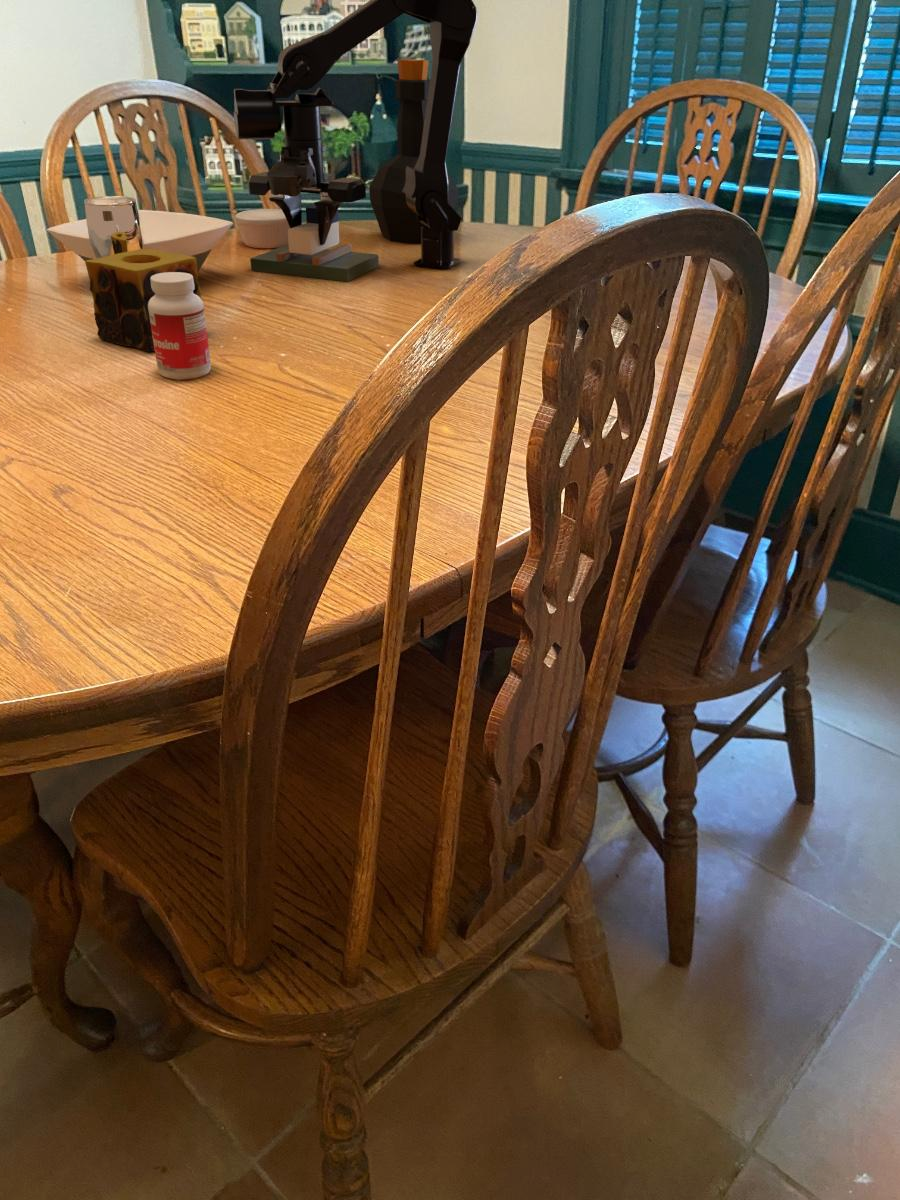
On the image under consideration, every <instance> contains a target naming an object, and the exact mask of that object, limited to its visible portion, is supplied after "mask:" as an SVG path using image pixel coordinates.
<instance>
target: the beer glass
mask: <svg viewBox="0 0 900 1200" xmlns="http://www.w3.org/2000/svg"><path fill="white" fill-rule="evenodd" d="M83 204H84V209H85V219H86V221H87V228H88V234H89V239H90V244H91V247H92V250H93V254H94V257H95V259H97V258H102V257H106V256H110V255H114V254H118V253H123V252H129V251H134V250H139V249H144V241H143V233H142V228H141V222H140V218H139V213H138V210H139V209H138V205H137V200H136V198H134V197H132V196H125V195H105V196H94V197H90V198H89V197H88V198H86V199H84V200H83Z"/></svg>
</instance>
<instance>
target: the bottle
mask: <svg viewBox="0 0 900 1200" xmlns="http://www.w3.org/2000/svg"><path fill="white" fill-rule="evenodd" d="M429 61H430V60H428V59H413V58H410V59H409V58H401V59H397V70H398V78H399V79H396V80H395V99H397V100H399V108H398V114H397V124H396V139H397V141H396V142H397V144H396V145H397V147H396V148H397V154H396V155H395V156H393V157H391V158H390V159H389V160H387V161H386V162H385V163H383V164H382V165H381V166H380V167H379V168H378V170H377V171H376V174H375V176H374V178H373V179H372V181H371V182H370V185H369V186H368V191H369V202H370V204H371V208H372V210H373V213H374V216H375V219H376V221H377V224H378V227H379V230H380V233H381V235H382V236H383V237H385V238H386V239H387V240H389V241H390V242H403V243H421V226H422V225H423V224H422V223H420V222H419V221H418V219H417V216H416V213H414V212H413V211H412V210H411V209H410V208H409V206H408V205H407V203H406V194H405V193H403V192H402V190H403V188H404V186H405V182H406V167H407V166H408V167H411V168H414V167H415V165H416V163H417V161H418V159H419V156H420V150H421V142H422V135H423V128H424V121H425V113H426V106H427V99H428V91H429V84H430V80H428V72H429V71H428V69H429ZM446 170H447V177H448V204H449V205H450V206H451V207H452V208H453V209H454V210H455V211H456V209H457V205H458V203H459V202H458V200H459V187H458V186H457V184H456V183H455V180H454V179H453V177H452V175H451V173H450V172H449V170H448V168H447V167H446Z"/></svg>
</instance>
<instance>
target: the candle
mask: <svg viewBox="0 0 900 1200" xmlns="http://www.w3.org/2000/svg"><path fill="white" fill-rule="evenodd" d="M84 263H85V267H86V270H87V274H88V279H89V290H90V292H91V295H92V301H93V312H94V314H93V316H94V321H95V325H96V327H97V332H96V333H97V336H98V339H100V340H102V341H105V342H107V343H108V342H109V343H113V344H117V345H120V346H125V347H131V348H132V347H133V348H136V349H140V350H142V351H145V352H147V353H148V352H149V353H151V352H155V349H154V343H153V337H152V330H151V323H150V317H149V310H148V303H149V300H150V299H151V298H152V297H153V296H154V295H155V292H153V290H152V288H151V280H150V278H151V276H153V275H155V274H159V273H166V272H181V273H188V274H191V275H192V276H193V280H194V285H195V287H194V288H195V289H194V290H193V293H194V294H196V295H197V296H199V297H200V298H201V299H202V296H201V288H200V283H199V280H198V279H199V272H198V273H197V262H196V258H195V257H191V256H186V255H182V254H176V253H169V252H163V251H157V250H151V249H139V250H134V251H129V252H123V253H118V254H114V255H110V256H106V257H102V258H97V259H92V260H86V261H84Z"/></svg>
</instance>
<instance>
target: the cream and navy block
mask: <svg viewBox="0 0 900 1200" xmlns="http://www.w3.org/2000/svg"><path fill="white" fill-rule="evenodd" d="M305 217H306V218H305V219H306V222H305V223H302V225H299V226H296V227H293V228H290V229H288V243H289V253H298V254H307V255H313V254H315V253H318V252H320V251H323V250H325V249H331V248H332V247H335V246H337V245H339V244H340V224H339V209H338V210H337V212H336V214H335V216H334V219H333V222H332V224H331V227H330V230H329V233H328V236H327V239H326V242H325V244H324V245H320V241H319V232H318V211H317V209H316V206H315V204H312V205H309V206H306V207H305Z"/></svg>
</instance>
